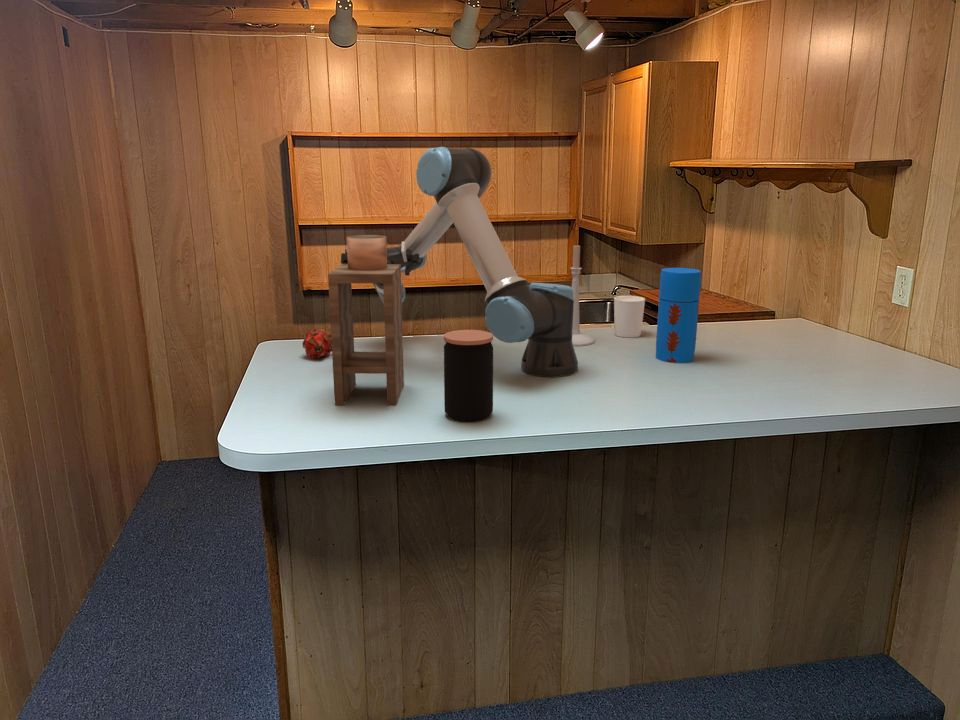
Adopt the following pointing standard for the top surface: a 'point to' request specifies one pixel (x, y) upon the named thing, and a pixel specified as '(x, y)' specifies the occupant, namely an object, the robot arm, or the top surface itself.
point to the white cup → (628, 316)
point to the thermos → (678, 314)
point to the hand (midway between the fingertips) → (375, 246)
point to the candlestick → (577, 303)
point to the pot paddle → (367, 252)
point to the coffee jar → (468, 375)
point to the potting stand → (343, 334)
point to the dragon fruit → (317, 343)
